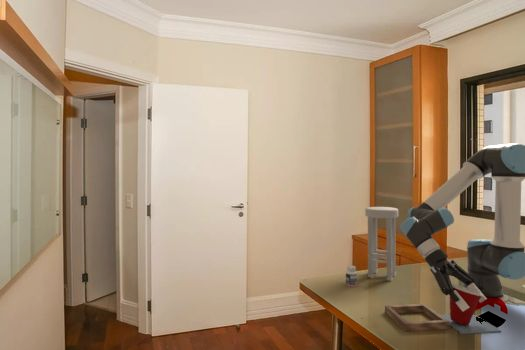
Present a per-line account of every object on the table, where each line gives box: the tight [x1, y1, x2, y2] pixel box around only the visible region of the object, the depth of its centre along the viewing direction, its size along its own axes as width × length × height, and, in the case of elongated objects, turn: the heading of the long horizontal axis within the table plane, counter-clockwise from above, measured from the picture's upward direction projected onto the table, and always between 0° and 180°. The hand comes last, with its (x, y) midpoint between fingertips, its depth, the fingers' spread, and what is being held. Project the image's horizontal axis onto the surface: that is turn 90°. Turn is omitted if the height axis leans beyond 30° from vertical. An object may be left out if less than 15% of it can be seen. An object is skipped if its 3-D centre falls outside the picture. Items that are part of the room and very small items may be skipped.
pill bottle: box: [345, 265, 358, 288], centre depth 166 cm, size 5×5×9 cm
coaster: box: [440, 313, 502, 335], centre depth 124 cm, size 14×14×1 cm
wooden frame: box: [384, 303, 451, 332], centre depth 127 cm, size 16×16×2 cm
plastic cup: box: [449, 283, 483, 325], centre depth 123 cm, size 11×11×12 cm
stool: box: [364, 206, 399, 282], centre depth 179 cm, size 16×16×35 cm
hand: (475, 305), depth 122 cm, fingers open, 12 cm apart
